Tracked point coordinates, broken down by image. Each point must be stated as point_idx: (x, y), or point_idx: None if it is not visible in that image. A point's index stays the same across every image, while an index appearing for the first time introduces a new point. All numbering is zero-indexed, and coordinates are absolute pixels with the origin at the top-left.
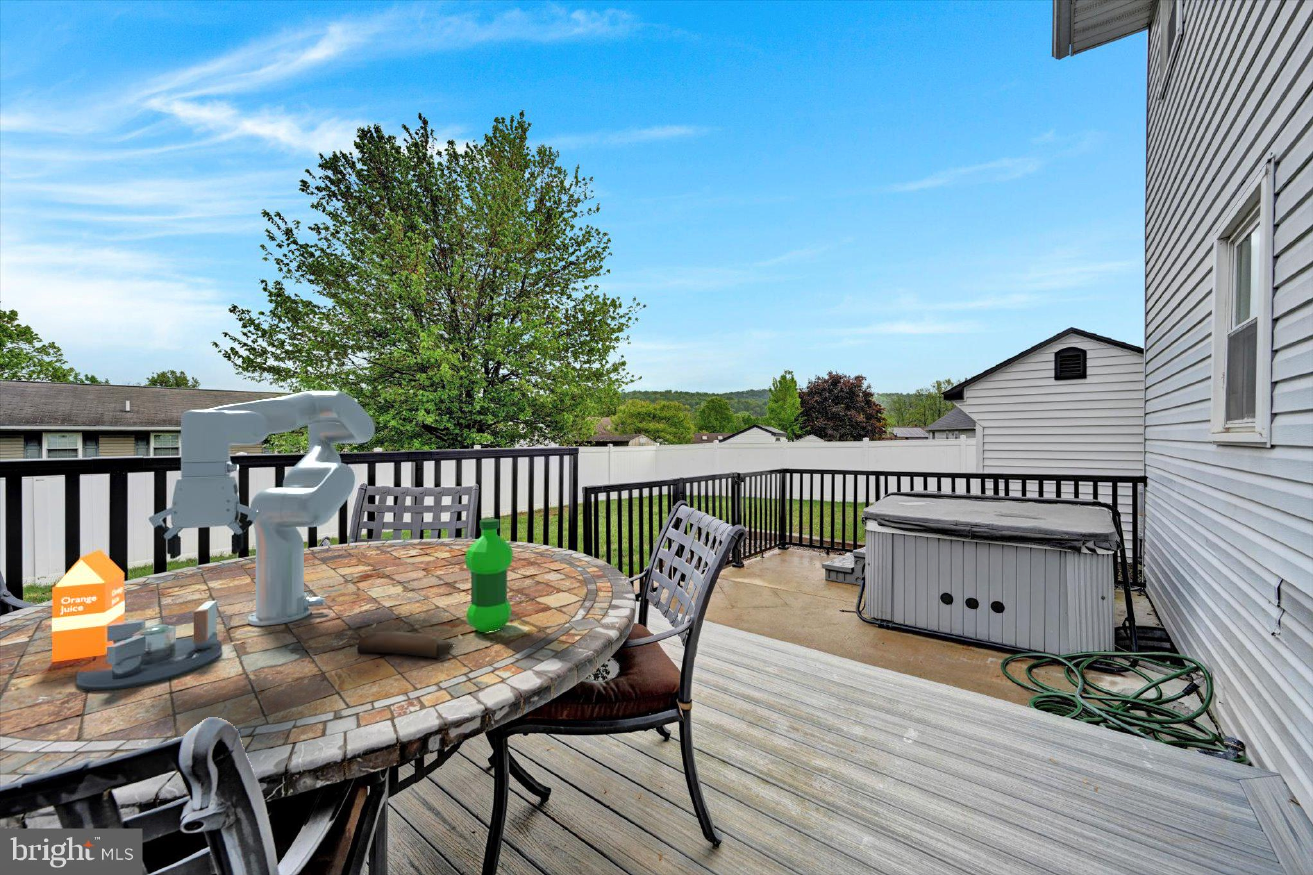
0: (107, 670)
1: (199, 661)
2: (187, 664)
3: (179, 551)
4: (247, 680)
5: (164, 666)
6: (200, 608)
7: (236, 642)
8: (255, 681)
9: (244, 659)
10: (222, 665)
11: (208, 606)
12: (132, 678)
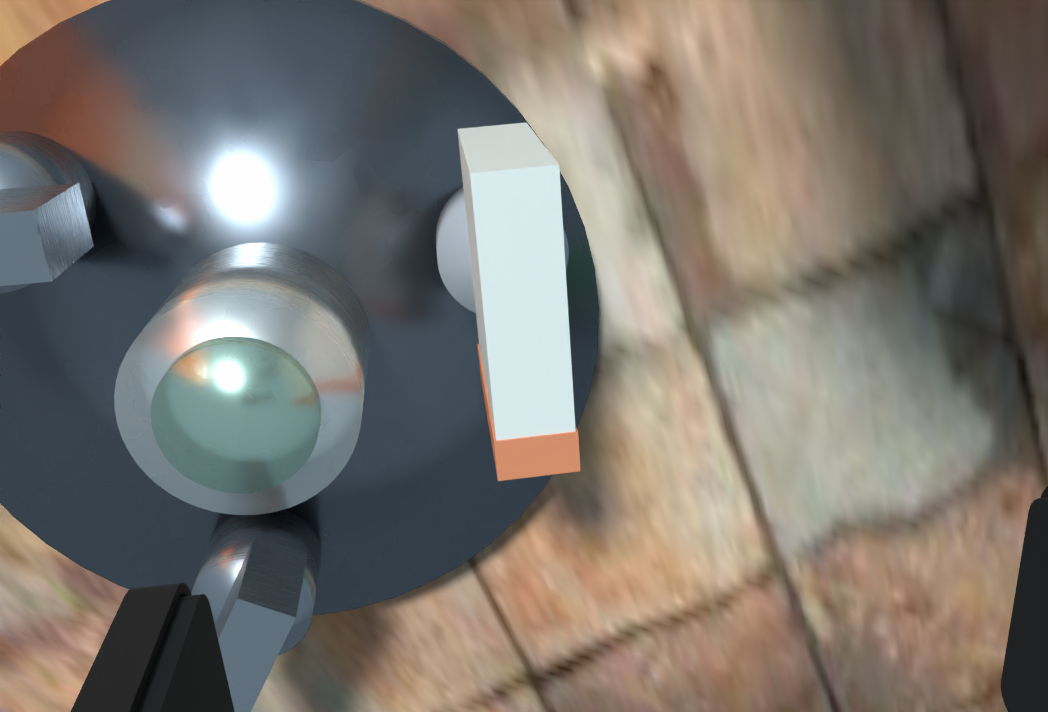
0: (115, 466)
1: None
2: (513, 509)
3: (202, 698)
4: (804, 648)
5: (404, 499)
6: (513, 398)
7: (612, 56)
8: (837, 666)
9: (735, 392)
10: (648, 442)
11: (555, 352)
12: (325, 608)
